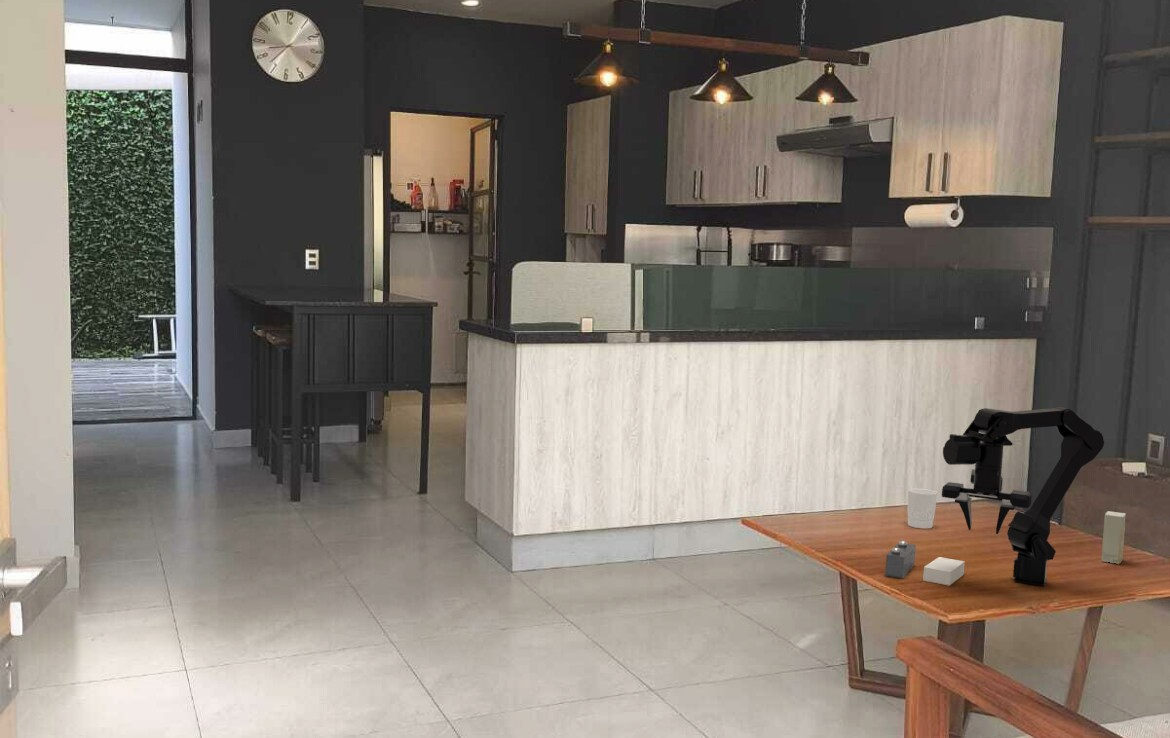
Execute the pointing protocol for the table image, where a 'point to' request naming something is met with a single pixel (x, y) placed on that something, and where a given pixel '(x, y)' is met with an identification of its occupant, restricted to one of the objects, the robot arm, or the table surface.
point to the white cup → (921, 507)
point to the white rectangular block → (943, 571)
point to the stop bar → (900, 560)
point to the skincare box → (1113, 537)
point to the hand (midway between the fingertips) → (983, 531)
